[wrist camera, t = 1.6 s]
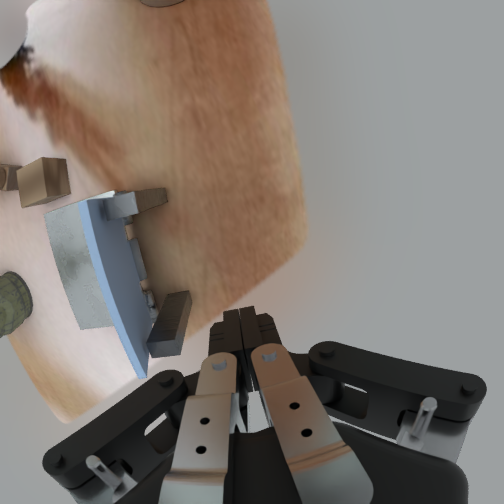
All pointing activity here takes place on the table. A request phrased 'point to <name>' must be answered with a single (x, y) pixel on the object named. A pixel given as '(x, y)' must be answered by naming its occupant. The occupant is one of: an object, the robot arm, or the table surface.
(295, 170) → the table surface
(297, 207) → the table surface
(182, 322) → the base leaf
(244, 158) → the table surface
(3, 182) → the wooden block
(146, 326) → the pale blue flat slab
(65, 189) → the block
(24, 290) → the thermos
